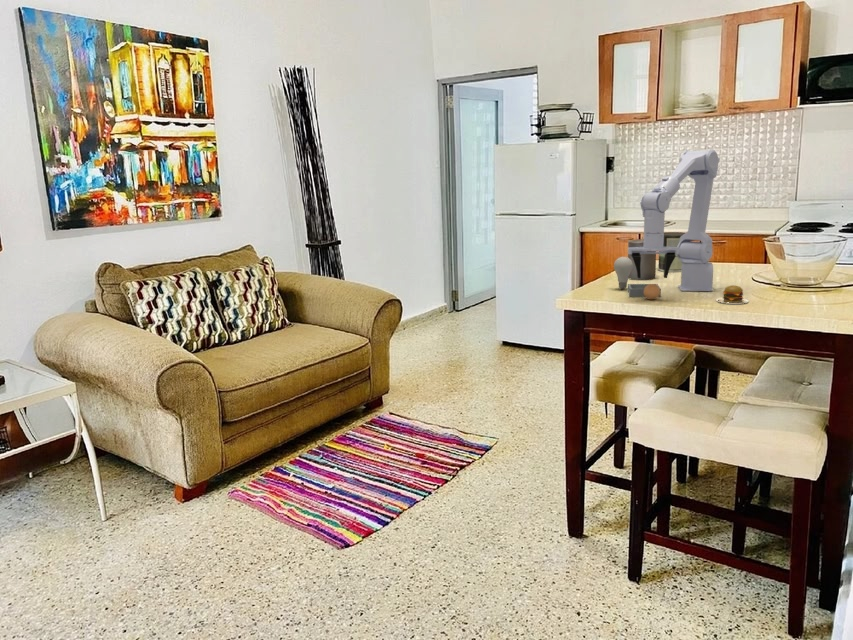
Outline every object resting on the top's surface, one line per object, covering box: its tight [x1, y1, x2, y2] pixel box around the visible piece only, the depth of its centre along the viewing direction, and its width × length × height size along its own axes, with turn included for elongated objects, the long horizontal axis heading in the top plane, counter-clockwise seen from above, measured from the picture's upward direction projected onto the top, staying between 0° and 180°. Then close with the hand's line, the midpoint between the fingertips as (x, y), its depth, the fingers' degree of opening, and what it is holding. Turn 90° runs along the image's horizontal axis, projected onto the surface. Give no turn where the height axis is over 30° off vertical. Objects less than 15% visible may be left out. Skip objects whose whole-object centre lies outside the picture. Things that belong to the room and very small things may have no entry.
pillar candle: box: [627, 237, 657, 281], centre depth 239 cm, size 10×10×15 cm
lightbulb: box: [613, 256, 633, 290], centre depth 220 cm, size 6×6×11 cm
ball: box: [644, 283, 661, 301], centre depth 203 cm, size 5×5×5 cm
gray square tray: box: [627, 283, 662, 298], centre depth 211 cm, size 9×9×2 cm
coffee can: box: [657, 231, 686, 273], centre depth 254 cm, size 10×10×14 cm
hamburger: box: [715, 285, 750, 305], centre depth 195 cm, size 12×12×6 cm
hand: (652, 277), depth 202 cm, fingers open, 7 cm apart
